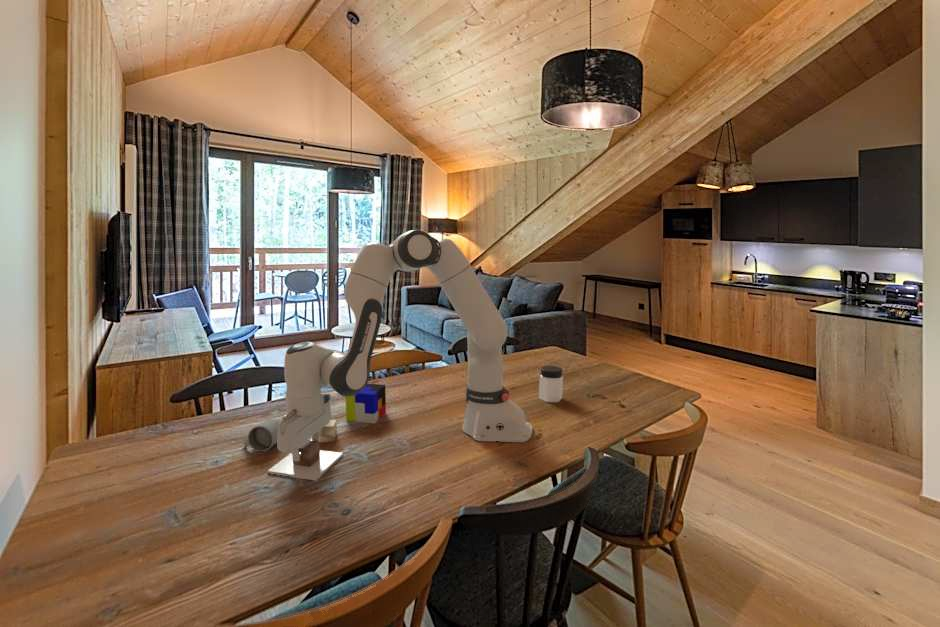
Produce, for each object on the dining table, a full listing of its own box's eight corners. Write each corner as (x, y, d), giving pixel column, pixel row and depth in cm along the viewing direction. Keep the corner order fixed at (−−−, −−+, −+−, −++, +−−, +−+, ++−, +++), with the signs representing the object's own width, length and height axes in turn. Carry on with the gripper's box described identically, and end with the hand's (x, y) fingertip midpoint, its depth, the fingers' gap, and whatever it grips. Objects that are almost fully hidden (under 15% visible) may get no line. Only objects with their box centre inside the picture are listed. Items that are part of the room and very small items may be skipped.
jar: (543, 393, 187) (545, 364, 185) (564, 397, 183) (565, 367, 181) (536, 400, 179) (537, 369, 177) (557, 404, 175) (558, 373, 173)
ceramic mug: (286, 440, 143) (285, 416, 141) (273, 452, 135) (271, 427, 133) (253, 439, 143) (251, 415, 142) (238, 451, 135) (235, 426, 134)
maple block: (336, 434, 147) (336, 419, 146) (334, 441, 142) (333, 426, 141) (320, 435, 146) (319, 420, 145) (317, 442, 141) (316, 426, 141)
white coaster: (343, 455, 133) (342, 452, 133) (316, 480, 120) (316, 477, 120) (298, 449, 136) (298, 447, 136) (267, 473, 123) (267, 470, 123)
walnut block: (320, 458, 130) (319, 441, 129) (310, 466, 125) (309, 449, 124) (303, 456, 131) (302, 439, 130) (293, 464, 126) (292, 447, 125)
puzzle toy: (374, 423, 156) (373, 394, 154) (346, 420, 158) (345, 392, 156) (385, 412, 165) (385, 384, 164) (359, 409, 167) (358, 382, 166)
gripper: (291, 420, 115) (294, 472, 117) (333, 392, 134) (335, 438, 137) (268, 417, 116) (271, 469, 118) (313, 390, 136) (315, 435, 138)
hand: (306, 452), depth 128 cm, fingers open, 7 cm apart
